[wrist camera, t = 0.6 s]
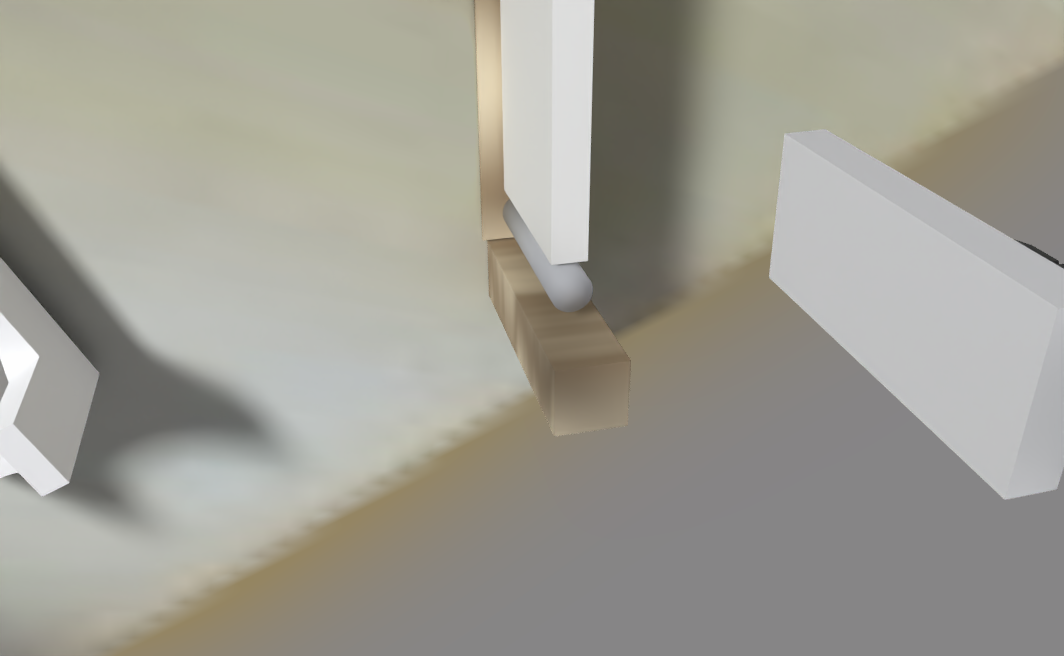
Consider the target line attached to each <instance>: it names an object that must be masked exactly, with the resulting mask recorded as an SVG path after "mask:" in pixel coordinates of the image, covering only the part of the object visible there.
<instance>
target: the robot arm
mask: <svg viewBox="0 0 1064 656" xmlns="http://www.w3.org/2000/svg"><path fill="white" fill-rule="evenodd" d="M769 278H770V279H771V280H772V281H773V282H775V283H776V284H777V285H778V286H779V287H780V288H781V289H782V290H783V291H784V292H785V293H786V294H787V295H788V296H789V297H791V299H792V300H794V301H795V302H796V303H797V304H798V305H799V306H800V307H801V308H802V309H803V310H804V311H805V312H806V313H808V315H810V317H812V318H813V319H814V320H815V321H816V322H817V323H818V324H819V325H820V326H821V327H822V328H823V329H824V330H825V331H827V333H828V334H830V335H831V336H832V337H833V338H834V339H835V340H836V341H837V342H838V343H839V344H840V345H841V346H842V347H843V348H844V349H845V350H847V351H848V352H849V353H850V354H851V355H852V356H853V357H854V358H855V359H856V360H857V361H858V362H859V363H860V364H861V365H862V366H864V367H865V368H866V369H867V370H868V371H869V372H870V373H871V374H872V375H873V376H874V377H875V378H876V379H877V380H878V381H879V382H880V383H882V384H883V385H884V386H885V387H886V388H887V389H888V390H889V391H890V392H891V393H892V394H893V395H894V396H895V397H896V398H897V399H899V400H900V401H901V402H902V403H903V404H904V405H905V406H906V407H907V408H908V409H909V410H910V411H911V412H912V413H913V414H914V415H915V416H916V417H918V418H919V419H920V420H921V421H922V422H923V423H924V424H925V425H926V426H927V427H928V428H929V429H931V431H932V432H933V433H935V434H936V435H937V436H938V437H939V438H940V439H941V440H942V441H943V442H944V443H945V444H946V445H947V446H948V447H949V448H950V449H951V450H952V451H954V452H955V453H956V454H957V455H958V456H959V457H960V458H961V459H962V460H963V461H964V462H965V463H966V464H967V465H968V466H969V467H970V468H972V469H973V470H974V471H975V472H976V473H977V474H978V475H979V476H980V477H981V478H982V479H983V480H984V481H985V482H986V483H987V484H989V485H990V486H991V487H992V488H993V489H994V490H995V491H996V492H997V493H998V494H999V495H1000V496H1001V497H1002V498H1003V499H1005V500H1007V499H1012V498H1017V497H1022V496H1027V495H1032V494H1037V493H1042V492H1047V491H1052V490H1057V487H1058V484H1059V481H1060V478H1061V475H1062V471H1063V468H1064V264H1059V261H1058V260H1056V259H1054V258H1053V257H1051V256H1049V255H1048V254H1046V253H1044V252H1042V251H1041V250H1039V249H1037V248H1036V247H1034V246H1032V245H1029V244H1026V243H1023V242H1020V241H1017V240H1015V239H1012V238H1010V237H1008V236H1007V235H1005V234H1003V233H1002V232H1000V231H998V230H996V229H995V228H993V227H991V226H989V225H988V224H986V223H984V222H983V221H981V220H979V219H978V218H976V217H974V216H973V215H971V214H969V213H967V212H966V211H964V210H962V209H961V208H959V207H957V206H955V205H954V204H952V203H950V202H949V201H947V200H945V199H944V198H942V197H940V196H938V195H937V194H935V193H933V192H932V191H930V190H928V189H926V188H925V187H923V186H921V185H920V184H918V183H916V182H914V181H913V180H911V179H909V178H908V177H906V176H904V175H903V174H901V173H899V172H897V171H896V170H894V169H892V168H891V167H889V166H887V165H885V164H884V163H882V162H880V161H879V160H877V159H875V158H873V157H872V156H870V155H868V154H867V153H865V152H863V151H862V150H860V149H858V148H856V147H855V146H853V145H851V144H850V143H848V142H846V141H844V140H843V139H841V138H839V137H838V136H836V135H834V134H832V133H831V132H829V131H827V130H826V129H823V130H814V131H804V132H795V133H785V135H784V145H783V154H782V163H781V172H780V181H779V191H778V200H777V209H776V218H775V228H774V237H773V246H772V255H771V264H770V274H769ZM8 383H9V382H8V379H7V377H6V374H5V371H4V368H3V365H2V362H1V359H0V402H1V399H2V397H3V395H4V392H5V390H6V388H7V386H8Z"/></svg>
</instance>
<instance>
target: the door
mask: <svg viewBox="0 0 1064 656" xmlns="http://www.w3.org/2000/svg"><path fill="white" fill-rule="evenodd" d="M500 16H501V64H502V111H503V158H504V190H505V192H506V194H507V195H508V197H509V198H510V199H509V200H508V201H507V202H506V204H505V205H504V208H503V218H504V221H505V222H506V224H507V226H508V227H509V229H510V231H511V233H512V234H513V236H514V238H515V240H516V241H517V243H518V245H519V246H520V248H521V250H522V252H523V253H524V255H525V257H526V258H527V260H528V262H529V264H530V265H531V267H532V269H533V271H534V272H535V274H536V276H537V277H538V279H539V281H540V283H541V284H542V286H543V288H544V289H545V291H546V293H547V295H548V296H549V298H550V300H551V301H552V303H553V305H554V306H555V307H556V308H557V309H558V310H560V311H563V312H575V311H578V310H580V309H582V308H583V307H584V306H586V305H587V304H588V302H589V301H590V299H591V297H592V294H593V285H592V283H591V281H590V279H589V278H588V276H587V275H586V273H585V272H584V270H583V269H582V268H581V266H580V265H579V263H578V262H583V261H588V237H589V197H590V157H591V117H592V77H593V37H594V0H500Z"/></svg>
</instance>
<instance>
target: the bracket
mask: <svg viewBox="0 0 1064 656" xmlns="http://www.w3.org/2000/svg"><path fill="white" fill-rule="evenodd" d="M0 359H1V362H2V365H3V368H4V371H5V374H6V377H7V379H8V382H9V383H8V386H7V388H6V390H5V392H4V395H3V397H2V399H1V402H0V478H2V477H4V476H7V475H10V474H14V473H19V474H20V475H21V476H22V477H23V478H24V479H25V480H26V481H27V482H28V483H29V484H30V485H31V486H32V487H33V488H34V489H35V490H36V491H37V492H38V493H39V494H40V495H41V496H42V497H43V496H45V495H47V494H49V493H51V492H53V491H55V490H57V489H58V488H60V487H62V486H64V485H66V484H68V483H70V479H71V476H72V472H73V468H74V465H75V461H76V457H77V454H78V450H79V447H80V443H81V439H82V436H83V432H84V428H85V425H86V421H87V418H88V414H89V410H90V407H91V403H92V399H93V396H94V392H95V389H96V385H97V381H98V378H99V374H100V373H99V372H98V371H97V370H96V369H95V367H94V366H93V365H92V364H91V363H90V362H89V360H88V359H87V358H86V357H85V356H84V355H83V353H82V352H81V351H80V350H79V349H78V348H77V346H76V345H75V344H74V343H73V342H72V341H71V339H70V338H69V337H68V336H67V335H66V334H65V332H64V331H63V330H62V329H61V328H60V326H59V325H58V324H57V323H56V322H55V321H54V319H53V318H52V317H51V316H50V315H49V314H48V312H47V311H46V310H45V309H44V308H43V307H42V305H41V304H40V303H39V302H38V301H37V300H36V298H35V297H34V296H33V295H32V294H31V293H30V291H29V290H28V289H27V288H26V287H25V285H24V284H23V283H22V282H21V281H20V280H19V278H18V277H17V276H16V275H15V274H14V273H13V271H12V270H11V269H10V268H9V267H8V266H7V264H6V263H5V262H4V261H3V260H2V259H1V257H0Z"/></svg>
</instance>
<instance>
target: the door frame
mask: <svg viewBox="0 0 1064 656" xmlns="http://www.w3.org/2000/svg"><path fill="white" fill-rule="evenodd" d="M474 8H475V38H476V67H477V96H478V126H479V155H480V185H481V214H482V239H483V240H487V242H488V274H489V296H490V298H491V300H492V303H493V305H494V307H495V309H496V311H497V313H498V316H499V318H500V320H501V322H502V324H503V326H504V329H505V331H506V333H507V335H508V337H509V339H510V341H511V344H512V346H513V348H514V350H515V352H516V354H517V357H518V359H519V361H520V363H521V365H522V367H523V370H524V372H525V374H526V376H527V378H528V380H529V383H530V385H531V387H532V389H533V391H534V393H535V396H536V398H537V400H538V402H539V404H540V406H541V409H542V411H543V413H544V415H545V417H546V419H547V422H548V424H549V426H550V428H551V430H552V432H553V435H554V436H555V437H556V436H563V435H569V434H576V433H583V432H589V431H596V430H602V429H609V428H616V427H622V426H627V425H628V408H629V390H630V389H629V388H630V370H631V360H630V358H629V357H628V355H627V354H626V352H625V351H624V349H623V348H622V346H621V345H620V343H619V342H618V340H617V339H616V337H615V336H614V334H613V333H612V331H611V330H610V328H609V327H608V325H607V324H606V322H605V321H604V319H603V318H602V316H601V315H600V313H599V312H598V310H597V309H596V307H595V306H594V304H593V303H592V301H591V300H590V301H589V302H588V304H587V305H586V306H584V307H583V308H582V309H580V310H578V311H575V312H563V311H560V310H558V309H557V308H556V307H555V306H554V305H553V303H552V301H551V300H550V298H549V296H548V295H547V293H546V291H545V289H544V288H543V286H542V284H541V283H540V281H539V279H538V277H537V276H536V274H535V272H534V271H533V269H532V267H531V265H530V264H529V262H528V260H527V258H526V257H525V255H524V253H523V252H522V250H521V248H520V246H519V245H518V243H517V241H516V240H515V238H512V237H514V236H513V234H512V233H511V231H510V229H509V227H508V226H507V224H506V222H505V221H504V218H503V208H504V205H505V204H506V202H507V201H508V200H509V199H510V198H509V197H508V195H507V194H506V192H505V190H504V158H503V111H502V64H501V16H500V0H474ZM502 238H504V239H502ZM493 239H495V240H493Z"/></svg>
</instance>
